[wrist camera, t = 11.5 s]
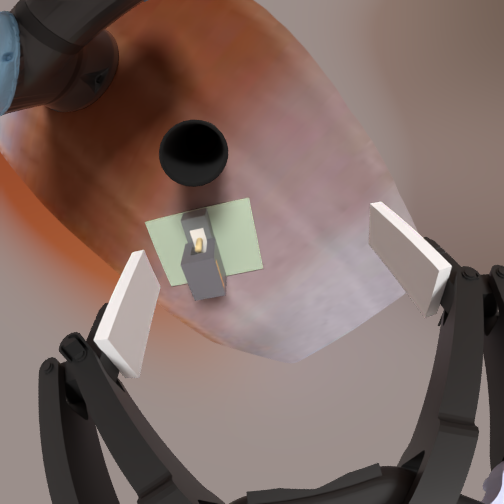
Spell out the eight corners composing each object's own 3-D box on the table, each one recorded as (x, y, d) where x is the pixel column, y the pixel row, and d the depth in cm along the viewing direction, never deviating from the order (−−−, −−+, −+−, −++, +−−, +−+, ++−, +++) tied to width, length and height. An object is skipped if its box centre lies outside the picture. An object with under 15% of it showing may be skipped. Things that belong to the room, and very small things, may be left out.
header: (145, 221, 44) (135, 240, 38) (248, 197, 43) (252, 213, 38) (171, 285, 51) (166, 307, 46) (262, 267, 51) (267, 288, 46)
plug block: (185, 243, 43) (180, 264, 38) (215, 237, 43) (214, 257, 38) (197, 277, 47) (194, 300, 42) (225, 272, 47) (225, 295, 42)
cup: (205, 172, 41) (197, 199, 30) (167, 143, 37) (145, 160, 27) (238, 136, 38) (242, 149, 28) (200, 104, 35) (189, 105, 25)
